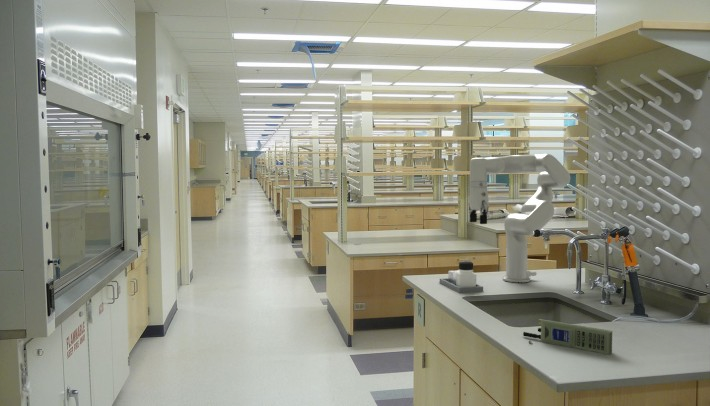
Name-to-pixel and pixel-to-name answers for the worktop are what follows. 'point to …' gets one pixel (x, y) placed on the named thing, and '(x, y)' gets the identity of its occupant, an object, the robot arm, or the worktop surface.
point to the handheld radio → (574, 336)
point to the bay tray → (460, 290)
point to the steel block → (452, 276)
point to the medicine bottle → (465, 275)
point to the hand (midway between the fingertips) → (478, 222)
